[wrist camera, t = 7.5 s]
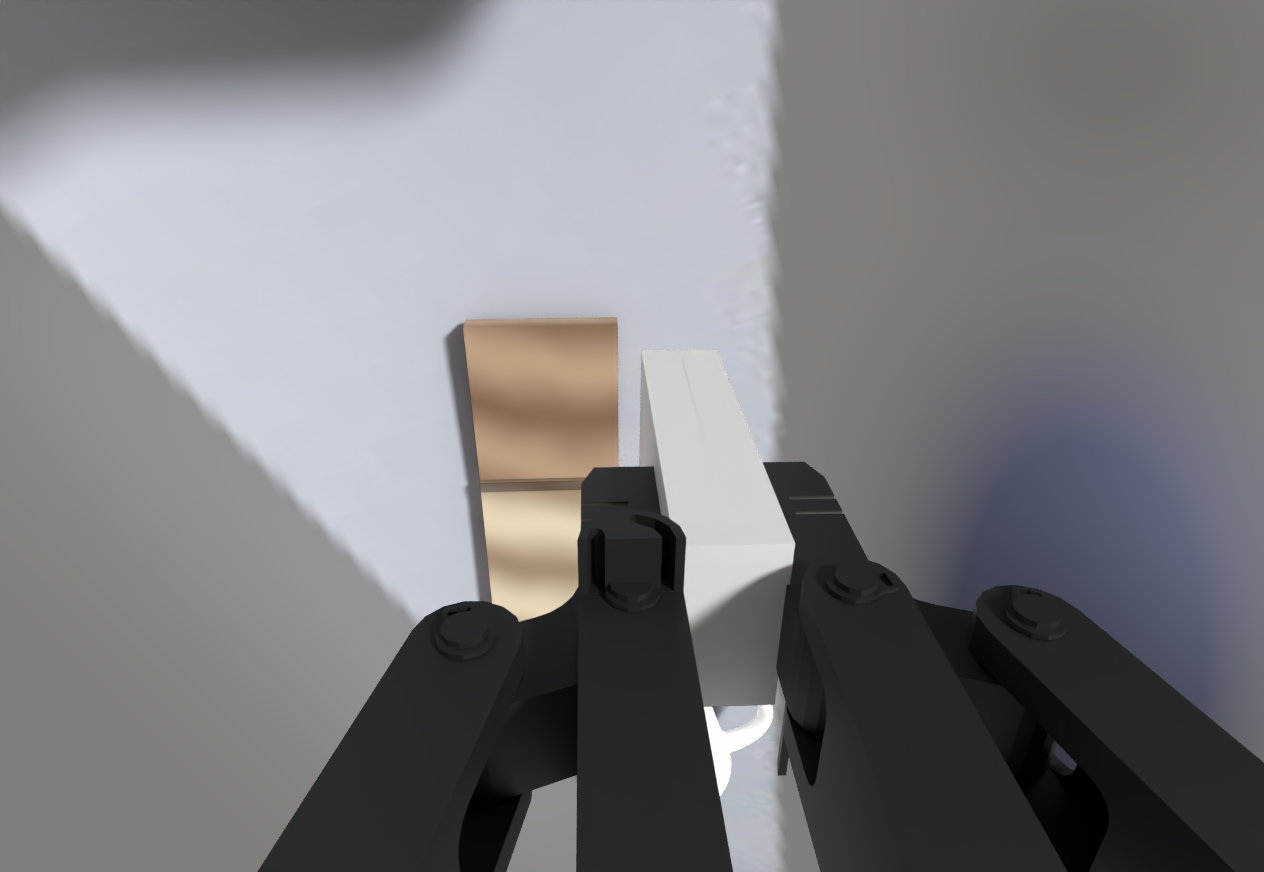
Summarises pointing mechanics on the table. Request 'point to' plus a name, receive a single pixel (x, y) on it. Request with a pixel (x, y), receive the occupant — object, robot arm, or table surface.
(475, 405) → the plank
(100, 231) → the table surface
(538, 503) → the floorboard
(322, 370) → the table surface
